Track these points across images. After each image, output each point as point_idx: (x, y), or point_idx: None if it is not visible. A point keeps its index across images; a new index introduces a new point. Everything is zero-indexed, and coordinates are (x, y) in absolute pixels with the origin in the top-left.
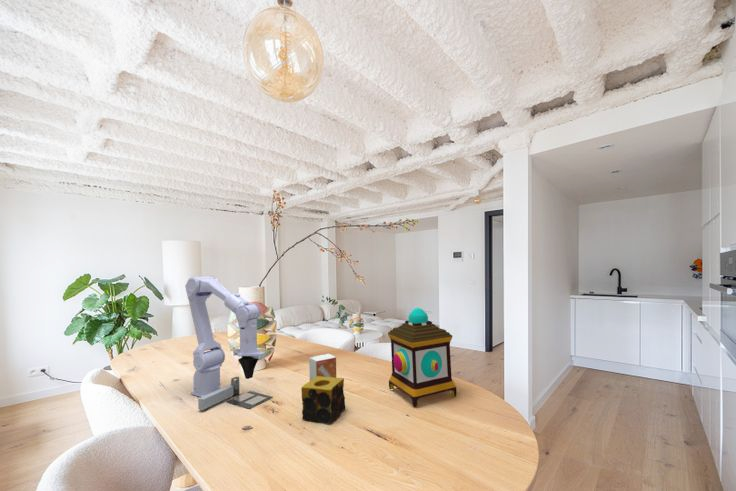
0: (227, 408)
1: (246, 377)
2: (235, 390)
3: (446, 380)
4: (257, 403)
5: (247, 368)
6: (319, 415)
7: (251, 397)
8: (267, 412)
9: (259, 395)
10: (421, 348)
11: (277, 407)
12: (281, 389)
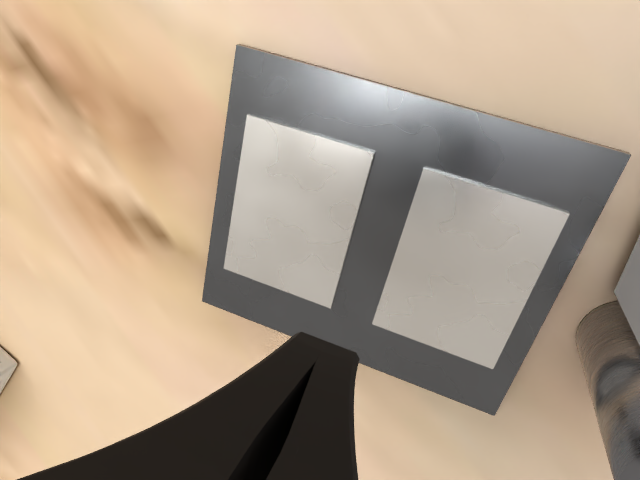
0: (502, 6)
1: (315, 346)
2: (615, 344)
3: None
4: (234, 159)
5: (157, 429)
6: None
7: (381, 278)
8: (57, 27)
9: (329, 319)
10: None
11: (53, 131)
12: None
